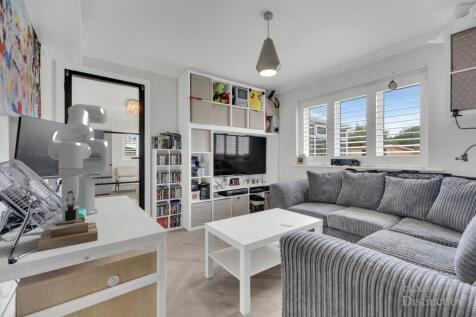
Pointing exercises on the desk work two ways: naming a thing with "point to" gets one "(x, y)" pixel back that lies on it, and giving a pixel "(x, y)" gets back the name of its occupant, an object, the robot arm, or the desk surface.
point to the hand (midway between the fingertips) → (70, 218)
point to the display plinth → (67, 239)
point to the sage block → (76, 214)
